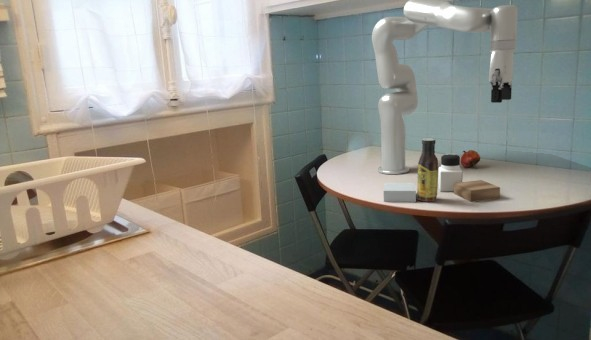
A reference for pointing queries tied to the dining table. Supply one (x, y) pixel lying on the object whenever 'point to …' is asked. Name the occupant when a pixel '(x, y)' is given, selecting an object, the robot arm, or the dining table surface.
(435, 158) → the sauce bottle
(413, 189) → the grey block
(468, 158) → the pomegranate
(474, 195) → the walnut block
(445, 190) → the medicine bottle
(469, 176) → the dining table surface
